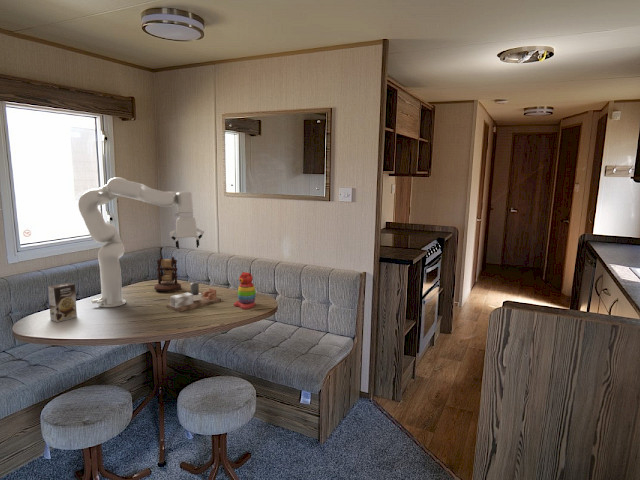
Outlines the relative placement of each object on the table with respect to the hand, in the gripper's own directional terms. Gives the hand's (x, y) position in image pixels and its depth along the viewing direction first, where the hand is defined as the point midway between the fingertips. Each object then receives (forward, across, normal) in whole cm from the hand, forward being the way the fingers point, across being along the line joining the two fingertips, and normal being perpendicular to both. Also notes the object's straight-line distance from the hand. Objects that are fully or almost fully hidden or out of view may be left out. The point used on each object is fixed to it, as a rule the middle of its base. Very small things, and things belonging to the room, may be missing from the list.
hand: (187, 247), depth 223 cm
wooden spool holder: (+29, -14, +27) cm, 42 cm away
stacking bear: (+31, +28, -13) cm, 43 cm away
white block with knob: (+27, -2, -6) cm, 28 cm away
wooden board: (+30, +1, -4) cm, 30 cm away
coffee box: (+28, -57, -14) cm, 65 cm away
